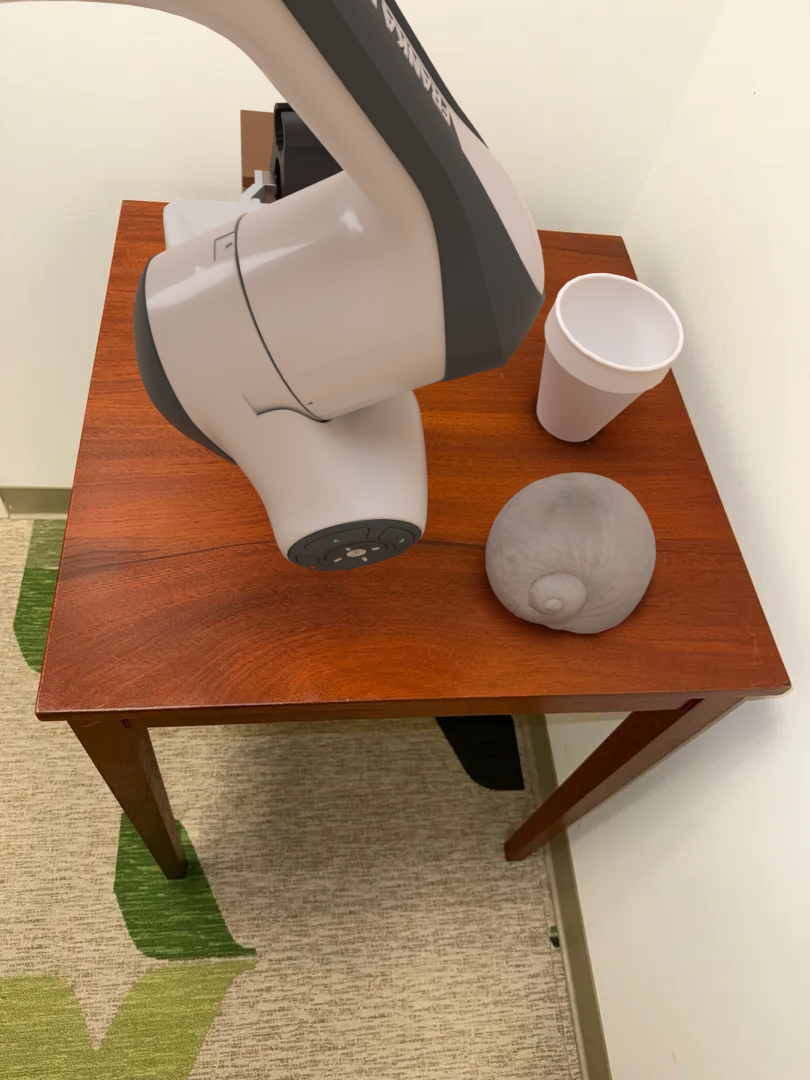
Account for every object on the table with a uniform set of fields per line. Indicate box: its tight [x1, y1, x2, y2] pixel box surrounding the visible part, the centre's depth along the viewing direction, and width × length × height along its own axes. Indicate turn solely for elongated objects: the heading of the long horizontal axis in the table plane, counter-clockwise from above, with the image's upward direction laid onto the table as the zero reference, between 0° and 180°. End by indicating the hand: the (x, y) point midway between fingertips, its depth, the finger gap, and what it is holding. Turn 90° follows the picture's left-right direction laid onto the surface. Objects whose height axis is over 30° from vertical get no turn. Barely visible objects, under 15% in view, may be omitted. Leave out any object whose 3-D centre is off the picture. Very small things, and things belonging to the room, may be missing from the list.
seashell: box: [485, 471, 657, 634], centre depth 68 cm, size 15×14×15 cm
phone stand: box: [269, 101, 343, 200], centre depth 53 cm, size 9×6×12 cm, turn 18°
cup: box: [536, 272, 685, 443], centre depth 75 cm, size 12×12×14 cm
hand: (318, 183), depth 53 cm, fingers closed on phone stand, 6 cm apart
